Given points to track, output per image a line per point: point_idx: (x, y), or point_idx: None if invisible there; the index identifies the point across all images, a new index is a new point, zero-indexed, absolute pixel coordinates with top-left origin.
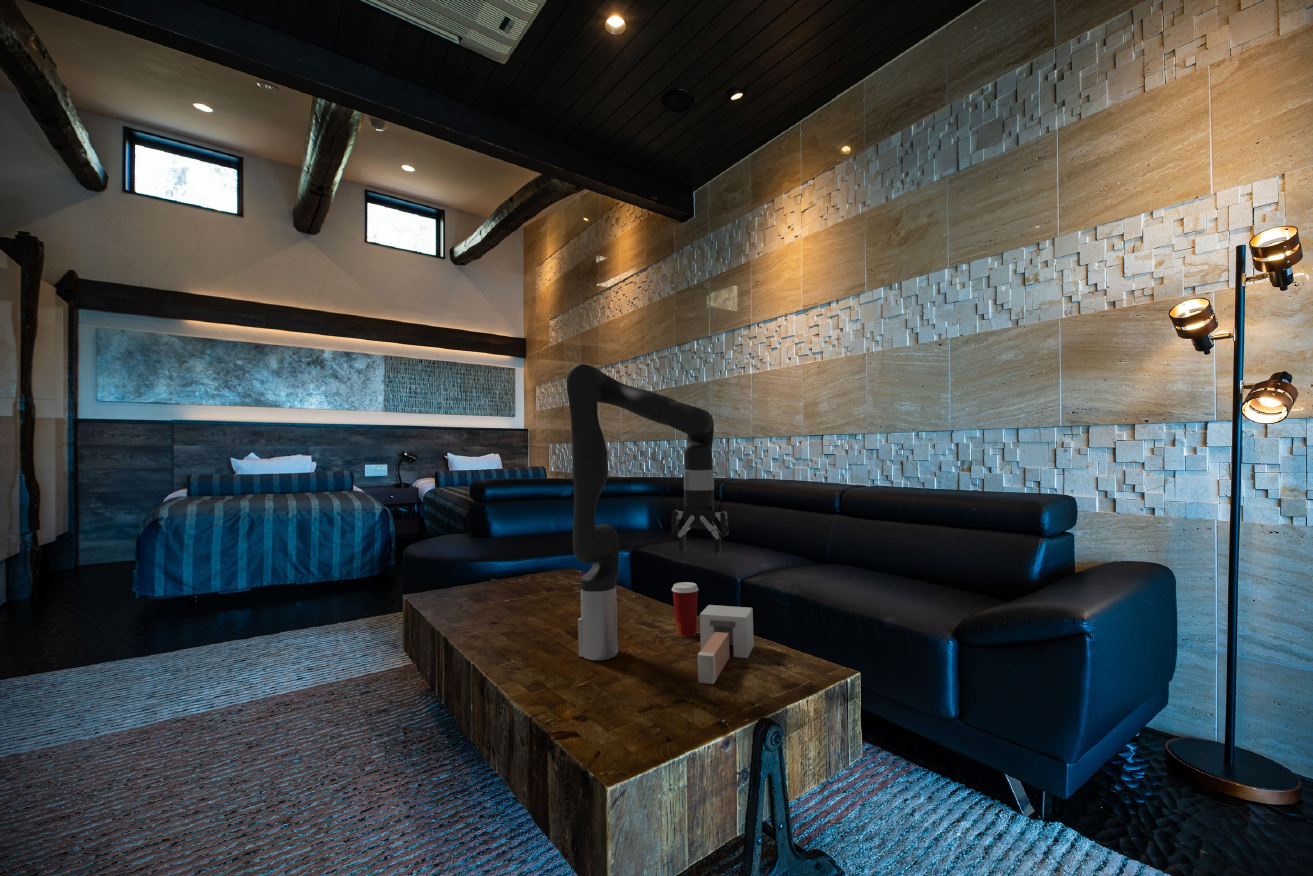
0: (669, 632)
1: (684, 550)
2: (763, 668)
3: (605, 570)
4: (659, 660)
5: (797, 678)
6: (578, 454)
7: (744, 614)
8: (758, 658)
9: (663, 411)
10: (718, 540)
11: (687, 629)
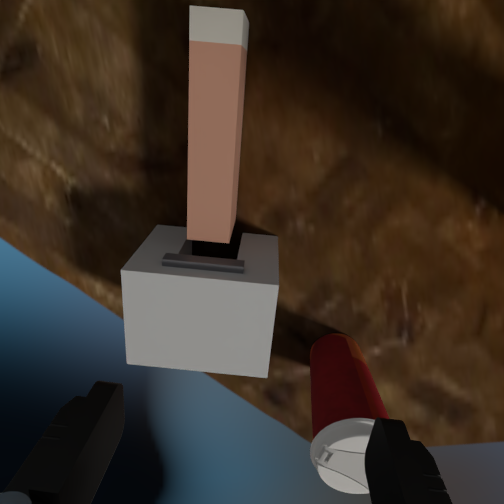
0: (380, 361)
1: (375, 441)
2: (106, 166)
3: None
4: (382, 172)
5: (14, 117)
6: None
7: (134, 299)
8: (132, 228)
9: None
10: (20, 487)
11: (330, 345)
